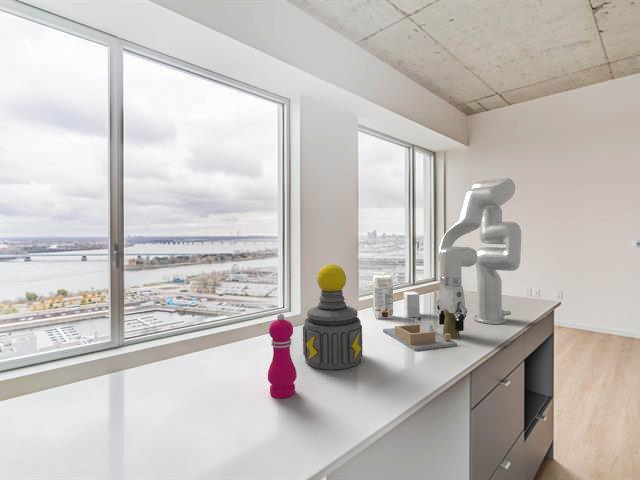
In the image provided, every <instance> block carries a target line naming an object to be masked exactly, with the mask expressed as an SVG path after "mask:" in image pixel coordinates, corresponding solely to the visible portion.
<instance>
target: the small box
mask: <svg viewBox="0 0 640 480" xmlns="http://www.w3.org/2000/svg"><path fill="white" fill-rule="evenodd" d="M420 305H421V304H420V294H419V293H418V292H416V291H403V313H404V315H405V316H406V317H407V318H417V316H420V317H421V315H420V310H421V308H420V307H421V306H420Z"/></svg>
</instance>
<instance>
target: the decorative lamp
mask: <svg viewBox="0 0 640 480" xmlns="http://www.w3.org/2000/svg"><path fill="white" fill-rule="evenodd" d="M316 282H317V285H318V287H319V288H320V290H321V291H320V296H319V299H318V300H319V302H318V304H317V306H314V307H312V308H310V309H308V310H307V311H306V313H307V315H306V316H307V318H305V320H304V325H303V326H302V346H303V347H302V349H303V350H302V354H303V356H304V359H305V362H306V363H307V365H309V366H311V367H313V368H314V369H319V370H326V371H337V370H338V371H339V370H341V371H342V370H347V369H350V368H353V367H356V366H357V365H359V364H360V363H361V360H362V357H363V326H362V323H361V322H362V321H361V319H360V318H359V317H358V310H357V309H356V308H353V307H351V306H349V305H347V303H346V302H345V296H344V295H343V294H344V293H343V289H344V287H346V284H347V275H346V272H345V270H344V269H343V268H342V267H341V266H339V265H337V264H334V263H330V264H326V265H323V266H322V267H321V268H320V269H319V271H318V272H317V275H316Z"/></svg>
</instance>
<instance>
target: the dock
mask: <svg viewBox="0 0 640 480" xmlns="http://www.w3.org/2000/svg"><path fill="white" fill-rule="evenodd" d="M382 329H383V330H382V332H383V333H384V334H386V335H388V336H390V337H391V338H393V339H394V340H396V341H398V342H399V343H401V345H402V344H403V345H404V346H405V347H408V348H409V349H411V350H413V351H414V352H418V351H424V350H425V351H426V349H427V350H434V348H435V349H442V348H443V347H444V348H450V347H457V342H455V341H453V340H452V339H451V334H449V333H447V334H444V337H443V335H440V334H438V333H437V332H436V331H435V330H433V331H429V332H426V331H424V330H422V329H420V325H419V324H416V323H415V324H413V323H412V324H405V325H404V324H403V325H395V326H394V327H391V328H382ZM444 348H443V349H444Z"/></svg>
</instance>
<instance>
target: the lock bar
mask: <svg viewBox="0 0 640 480" xmlns="http://www.w3.org/2000/svg"><path fill="white" fill-rule="evenodd" d="M415 324H419V325H420V329H422V330H424V331H426V332H429V331H434V325H433V324H432V323H430V322H427V321H424V320H422V316H421V315H420V316H417V317H416V318H415Z"/></svg>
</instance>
